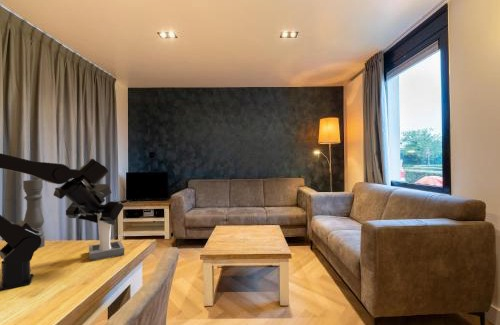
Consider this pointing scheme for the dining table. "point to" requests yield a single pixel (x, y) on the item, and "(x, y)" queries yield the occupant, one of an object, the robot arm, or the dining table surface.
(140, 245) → the dining table surface
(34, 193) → the candle holder
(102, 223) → the perfume bottle
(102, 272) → the dining table surface
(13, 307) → the dining table surface
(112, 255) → the gray tray
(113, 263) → the dining table surface
